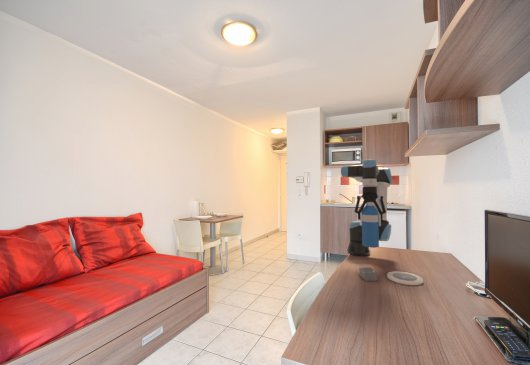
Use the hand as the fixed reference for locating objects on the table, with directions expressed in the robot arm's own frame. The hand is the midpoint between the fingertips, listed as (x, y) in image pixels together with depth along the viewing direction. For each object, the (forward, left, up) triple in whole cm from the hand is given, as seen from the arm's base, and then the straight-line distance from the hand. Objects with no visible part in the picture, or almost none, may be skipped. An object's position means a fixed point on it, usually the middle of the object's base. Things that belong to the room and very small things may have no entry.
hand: (370, 225), depth 137 cm
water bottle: (0, 0, -12) cm, 12 cm away
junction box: (+13, -4, -25) cm, 29 cm away
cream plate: (+11, +14, -25) cm, 31 cm away
